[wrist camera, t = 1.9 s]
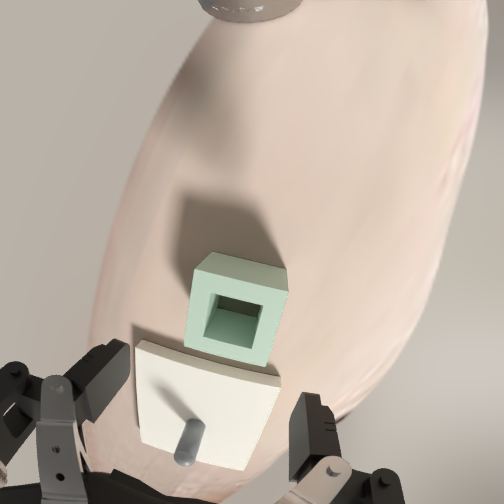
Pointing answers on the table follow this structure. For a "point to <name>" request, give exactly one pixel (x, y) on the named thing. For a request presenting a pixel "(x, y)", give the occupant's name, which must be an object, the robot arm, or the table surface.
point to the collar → (230, 323)
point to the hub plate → (201, 406)
